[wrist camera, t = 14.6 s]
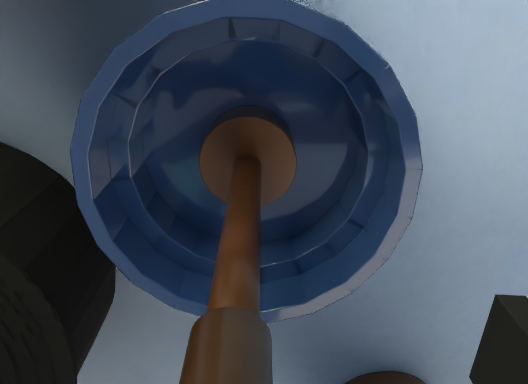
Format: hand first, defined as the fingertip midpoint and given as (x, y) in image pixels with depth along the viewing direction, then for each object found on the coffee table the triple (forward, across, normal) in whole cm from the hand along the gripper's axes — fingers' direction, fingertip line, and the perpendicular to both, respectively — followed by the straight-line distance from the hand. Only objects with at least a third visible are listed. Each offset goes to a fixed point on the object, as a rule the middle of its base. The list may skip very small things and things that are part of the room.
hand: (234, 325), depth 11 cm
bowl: (+15, 0, 0) cm, 15 cm away
